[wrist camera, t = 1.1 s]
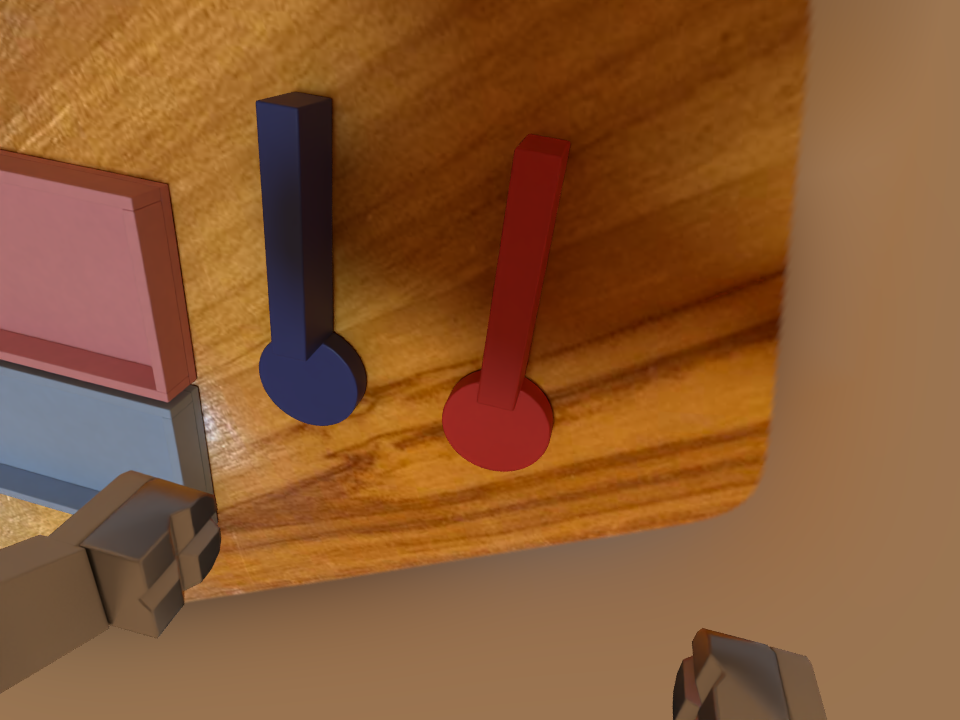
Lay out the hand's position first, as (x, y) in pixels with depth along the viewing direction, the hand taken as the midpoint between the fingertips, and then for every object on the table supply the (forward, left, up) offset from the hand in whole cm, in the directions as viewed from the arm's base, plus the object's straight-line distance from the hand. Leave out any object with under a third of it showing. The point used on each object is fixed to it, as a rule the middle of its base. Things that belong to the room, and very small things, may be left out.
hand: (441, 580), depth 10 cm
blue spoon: (+2, -9, -14) cm, 16 cm away
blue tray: (+13, -24, -14) cm, 31 cm away
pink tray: (+4, -24, -14) cm, 28 cm away
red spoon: (+2, -1, -14) cm, 14 cm away
